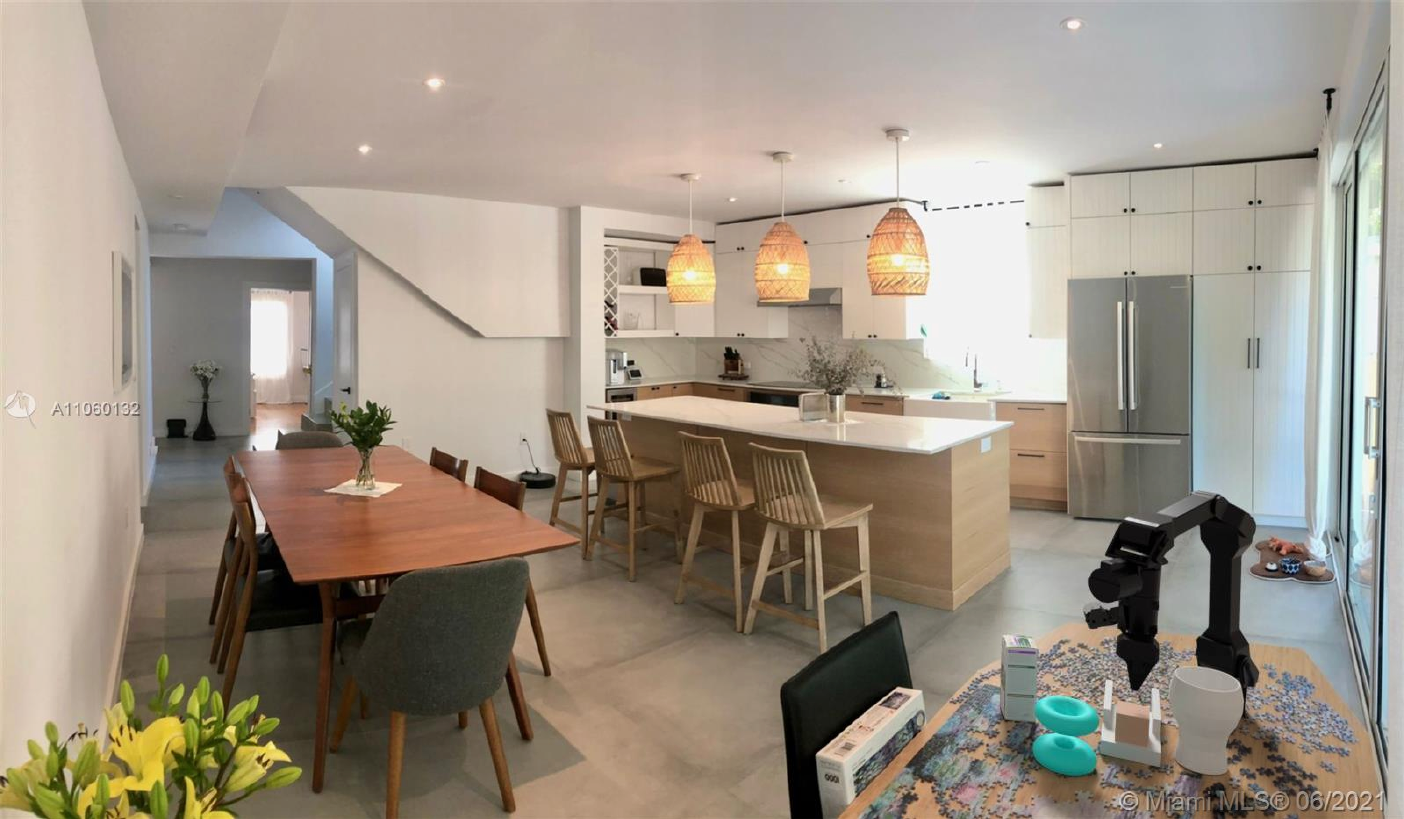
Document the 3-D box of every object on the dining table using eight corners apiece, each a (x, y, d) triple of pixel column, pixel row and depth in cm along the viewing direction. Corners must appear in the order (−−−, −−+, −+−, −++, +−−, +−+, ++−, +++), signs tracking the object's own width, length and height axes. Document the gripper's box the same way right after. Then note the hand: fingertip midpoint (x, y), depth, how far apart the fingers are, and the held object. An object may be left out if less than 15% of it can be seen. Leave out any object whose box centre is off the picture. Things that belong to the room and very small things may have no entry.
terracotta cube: (1147, 734, 142) (1149, 706, 141) (1147, 747, 138) (1149, 719, 137) (1115, 727, 144) (1117, 700, 144) (1114, 740, 140) (1116, 712, 139)
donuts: (1066, 726, 130) (1021, 698, 139) (1063, 784, 131) (1019, 753, 141) (1113, 715, 134) (1067, 688, 143) (1110, 772, 135) (1064, 742, 144)
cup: (1238, 788, 130) (1246, 699, 128) (1162, 768, 136) (1168, 683, 134) (1237, 757, 139) (1244, 673, 137) (1165, 739, 145) (1171, 659, 143)
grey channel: (1157, 714, 154) (1159, 689, 153) (1159, 767, 136) (1161, 739, 136) (1104, 703, 158) (1105, 679, 157) (1100, 753, 140) (1101, 726, 140)
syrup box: (1036, 723, 151) (1040, 648, 149) (1002, 720, 152) (1006, 645, 150) (1030, 708, 156) (1034, 636, 154) (998, 705, 157) (1001, 633, 156)
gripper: (1090, 569, 150) (1085, 649, 152) (1085, 601, 134) (1079, 691, 136) (1159, 578, 145) (1153, 661, 147) (1162, 613, 129) (1156, 706, 131)
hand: (1134, 679), depth 140 cm, fingers open, 9 cm apart
